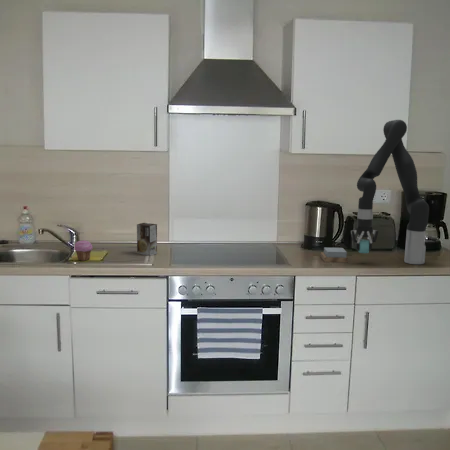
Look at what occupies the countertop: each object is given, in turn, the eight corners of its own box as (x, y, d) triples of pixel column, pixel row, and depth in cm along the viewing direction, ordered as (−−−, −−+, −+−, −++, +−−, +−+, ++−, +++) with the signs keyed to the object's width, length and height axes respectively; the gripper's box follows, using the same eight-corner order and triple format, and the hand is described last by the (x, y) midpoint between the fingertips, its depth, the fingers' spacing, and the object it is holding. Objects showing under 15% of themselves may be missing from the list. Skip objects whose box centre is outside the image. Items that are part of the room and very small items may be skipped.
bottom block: (342, 258, 292) (342, 252, 292) (347, 263, 280) (347, 258, 280) (320, 257, 292) (320, 252, 291) (324, 263, 280) (324, 257, 280)
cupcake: (84, 262, 268) (83, 242, 266) (70, 260, 272) (70, 240, 270) (96, 259, 276) (95, 239, 274) (83, 257, 280) (82, 238, 278)
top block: (342, 253, 290) (342, 247, 290) (346, 257, 280) (346, 252, 280) (323, 252, 290) (324, 247, 290) (327, 257, 280) (327, 251, 280)
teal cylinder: (367, 250, 281) (367, 239, 280) (370, 253, 275) (370, 241, 274) (357, 251, 280) (357, 239, 279) (359, 253, 275) (360, 241, 274)
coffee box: (157, 253, 290) (157, 224, 288) (150, 255, 285) (149, 225, 282) (144, 251, 295) (144, 222, 292) (136, 253, 290) (136, 223, 287)
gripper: (376, 216, 279) (375, 248, 282) (349, 216, 278) (347, 248, 281) (381, 218, 271) (379, 251, 274) (352, 218, 271) (351, 252, 274)
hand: (363, 250), depth 278 cm, fingers closed on teal cylinder, 5 cm apart
